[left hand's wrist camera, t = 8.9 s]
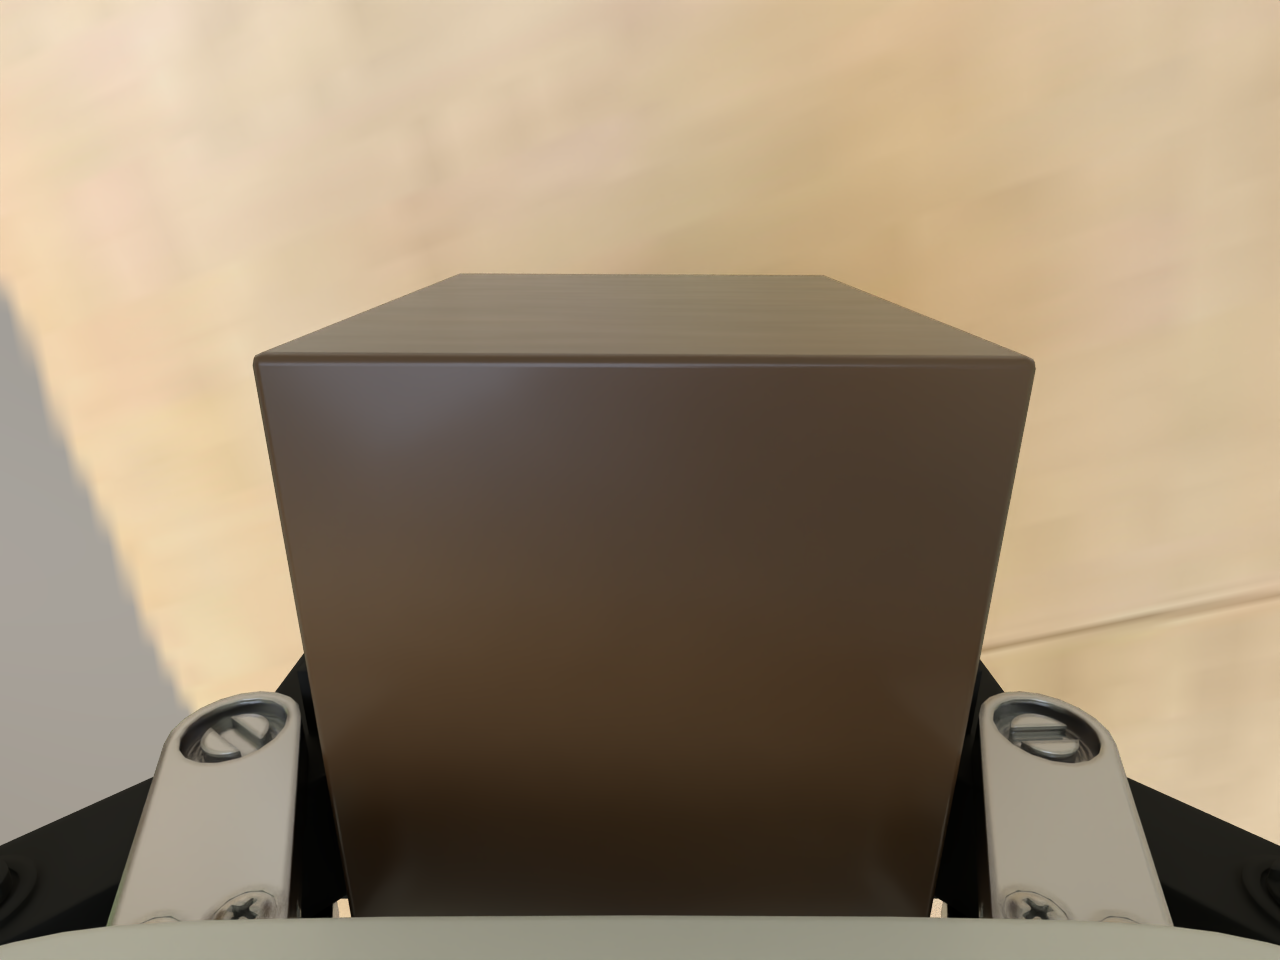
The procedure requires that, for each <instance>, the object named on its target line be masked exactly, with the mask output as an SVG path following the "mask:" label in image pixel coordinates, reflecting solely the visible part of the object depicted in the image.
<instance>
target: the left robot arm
mask: <svg viewBox="0 0 1280 960" xmlns="http://www.w3.org/2000/svg"><path fill="white" fill-rule="evenodd" d="M339 899H348V896H347V890H346V885H345V879H344V873H343V868H342V862H341V857H340V851H339V845H338V840H337V834H336V829H335V823H334V817H333V812H332V806H331V801H330V795H329V789H328V784H327V778H326V773H325V767H324V761H323V756H322V750H321V745H320V739H319V733H318V728H317V722H316V717H315V711H314V706H313V700H312V694H311V689H310V683H309V678H308V672H307V666H306V661H305V655H304V654H303V655H302V657H301V658H300V659H299V661H298V662H297V663H296V665H295V666H294V667H293V669H292V670H291V671H290V673H289V674H288V675H287V677H286V678H285V679H284V681H283V682H282V683H281V685H280V686H279V688H278V689H277V690H276V692H262V691H260V692H251V693H243V694H238V695H235V696H231V697H227V698H224V699H221V700H218V701H216V702H214V703H211V704H209V705H207V706H205V707H202V708H200V709H199V710H197V711H196V712H194V713H193V714H191V715H189V716H188V717H186V718H185V719H184V720H183V721H181V723H179V724H178V725H177V726H176V727H175V728H174V729H173V730H172V731H171V733H170V734H169V736H168V738H167V740H166V741H165V743H164V745H163V749H162V752H161V755H160V758H159V761H158V764H157V768H156V771H155V774H154V777H152V778H150V779H148V780H145V781H143V782H141V783H139V784H137V785H134V786H132V787H130V788H128V789H125V790H123V791H121V792H119V793H117V794H114V795H112V796H110V797H108V798H105V799H103V800H101V801H99V802H96V803H94V804H92V805H90V806H88V807H85V808H83V809H81V810H79V811H76V812H74V813H72V814H70V815H68V816H65V817H63V818H61V819H59V820H56V821H54V822H52V823H50V824H48V825H45V826H43V827H41V828H39V829H36V830H34V831H32V832H30V833H28V834H25V835H23V836H21V837H19V838H17V839H14V840H12V841H10V842H8V843H5V844H3V845H1V846H0V960H1280V846H1279V845H1277V844H1274V843H1272V842H1270V841H1268V840H1265V839H1263V838H1261V837H1259V836H1257V835H1254V834H1252V833H1250V832H1248V831H1245V830H1243V829H1241V828H1239V827H1236V826H1234V825H1232V824H1230V823H1228V822H1225V821H1223V820H1221V819H1219V818H1216V817H1214V816H1212V815H1210V814H1208V813H1205V812H1203V811H1201V810H1199V809H1196V808H1194V807H1192V806H1190V805H1188V804H1185V803H1183V802H1181V801H1179V800H1176V799H1174V798H1172V797H1170V796H1167V795H1165V794H1163V793H1161V792H1159V791H1156V790H1154V789H1152V788H1150V787H1147V786H1145V785H1143V784H1141V783H1139V782H1136V781H1134V780H1132V779H1130V778H1127V777H1126V774H1125V771H1124V768H1123V764H1122V761H1121V758H1120V755H1119V752H1118V749H1117V745H1116V743H1115V741H1114V740H1113V738H1112V736H1111V734H1110V733H1109V731H1108V730H1107V729H1106V728H1105V727H1104V726H1103V725H1102V724H1101V723H1100V722H1099V721H1098V720H1096V719H1095V718H1094V717H1092V716H1091V715H1089V714H1087V713H1086V712H1084V711H1083V710H1081V709H1080V708H1078V707H1075V706H1073V705H1071V704H1069V703H1066V702H1064V701H1062V700H1059V699H1056V698H1053V697H1049V696H1045V695H1042V694H1037V693H1029V692H1020V691H1018V692H1004V691H1003V690H1002V688H1001V687H1000V686H999V684H998V683H997V682H996V680H995V679H994V678H993V676H992V675H991V674H990V672H989V671H988V669H987V668H986V667H985V665H984V664H983V663H982V661H981V660H979V665H978V670H977V675H976V680H975V686H974V691H973V696H972V701H971V706H970V712H969V717H968V722H967V727H966V732H965V737H964V743H963V748H962V753H961V758H960V763H959V769H958V774H957V779H956V784H955V789H954V795H953V800H952V805H951V810H950V815H949V820H948V826H947V831H946V836H945V841H944V846H943V852H942V857H941V862H940V867H939V872H938V878H937V883H936V888H935V893H934V898H933V899H940V900H942V901H943V904H942V909H941V918H930V917H844V916H642V915H638V916H436V917H350V918H339V909H338V904H337V901H338V900H339Z"/></svg>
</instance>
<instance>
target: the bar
mask: <svg viewBox="0 0 1280 960" xmlns="http://www.w3.org/2000/svg"><path fill="white" fill-rule="evenodd" d="M253 370H254V375H255V381H256V386H257V392H258V398H259V403H260V409H261V414H262V420H263V426H264V431H265V437H266V442H267V448H268V454H269V459H270V465H271V470H272V476H273V482H274V487H275V493H276V498H277V504H278V510H279V515H280V521H281V526H282V532H283V538H284V543H285V549H286V554H287V560H288V566H289V571H290V577H291V582H292V588H293V594H294V599H295V605H296V610H297V616H298V622H299V627H300V633H301V638H302V644H303V650H304V655H305V661H306V666H307V672H308V678H309V683H310V689H311V694H312V700H313V706H314V711H315V717H316V722H317V728H318V733H319V739H320V745H321V750H322V756H323V761H324V767H325V773H326V778H327V784H328V789H329V795H330V801H331V806H332V812H333V817H334V823H335V829H336V834H337V840H338V845H339V851H340V857H341V862H342V868H343V873H344V879H345V885H346V890H347V896H348V901H349V907H350V913H351V917H436V916H638V915H642V916H844V917H930V914H931V909H932V903H933V898H934V893H935V888H936V883H937V878H938V872H939V867H940V862H941V857H942V852H943V846H944V841H945V836H946V831H947V826H948V820H949V815H950V810H951V805H952V800H953V795H954V789H955V784H956V779H957V774H958V769H959V763H960V758H961V753H962V748H963V743H964V737H965V732H966V727H967V722H968V717H969V712H970V706H971V701H972V696H973V691H974V686H975V680H976V675H977V670H978V665H979V660H980V655H981V649H982V644H983V639H984V634H985V629H986V623H987V618H988V613H989V608H990V603H991V597H992V592H993V587H994V582H995V577H996V572H997V566H998V561H999V556H1000V551H1001V546H1002V540H1003V535H1004V530H1005V525H1006V520H1007V514H1008V509H1009V504H1010V499H1011V494H1012V489H1013V483H1014V478H1015V473H1016V468H1017V463H1018V457H1019V452H1020V447H1021V442H1022V437H1023V431H1024V426H1025V421H1026V416H1027V411H1028V406H1029V400H1030V395H1031V390H1032V385H1033V380H1034V374H1035V362H1034V360H1033V359H1031V358H1029V357H1027V356H1025V355H1022V354H1020V353H1017V352H1015V351H1012V350H1010V349H1007V348H1005V347H1002V346H1000V345H997V344H995V343H992V342H990V341H987V340H985V339H982V338H980V337H977V336H975V335H972V334H970V333H967V332H964V331H962V330H959V329H957V328H954V327H952V326H949V325H947V324H944V323H942V322H939V321H937V320H934V319H932V318H929V317H927V316H924V315H922V314H919V313H917V312H914V311H912V310H909V309H907V308H904V307H902V306H899V305H897V304H894V303H892V302H889V301H887V300H884V299H882V298H879V297H877V296H874V295H872V294H869V293H867V292H864V291H862V290H859V289H857V288H854V287H851V286H849V285H846V284H844V283H841V282H839V281H836V280H834V279H831V278H829V277H826V276H824V275H640V274H458V275H455V276H453V277H450V278H448V279H445V280H443V281H440V282H438V283H435V284H433V285H430V286H428V287H425V288H423V289H420V290H418V291H415V292H413V293H410V294H408V295H405V296H403V297H400V298H398V299H395V300H393V301H390V302H387V303H385V304H382V305H380V306H377V307H375V308H372V309H370V310H367V311H365V312H362V313H360V314H357V315H355V316H352V317H350V318H347V319H345V320H342V321H340V322H337V323H335V324H332V325H330V326H327V327H325V328H322V329H320V330H317V331H315V332H312V333H310V334H307V335H305V336H302V337H300V338H297V339H295V340H292V341H290V342H287V343H285V344H282V345H280V346H277V347H275V348H272V349H270V350H267V351H265V352H262V353H260V354H258V355H255V357H254V361H253Z"/></svg>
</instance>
